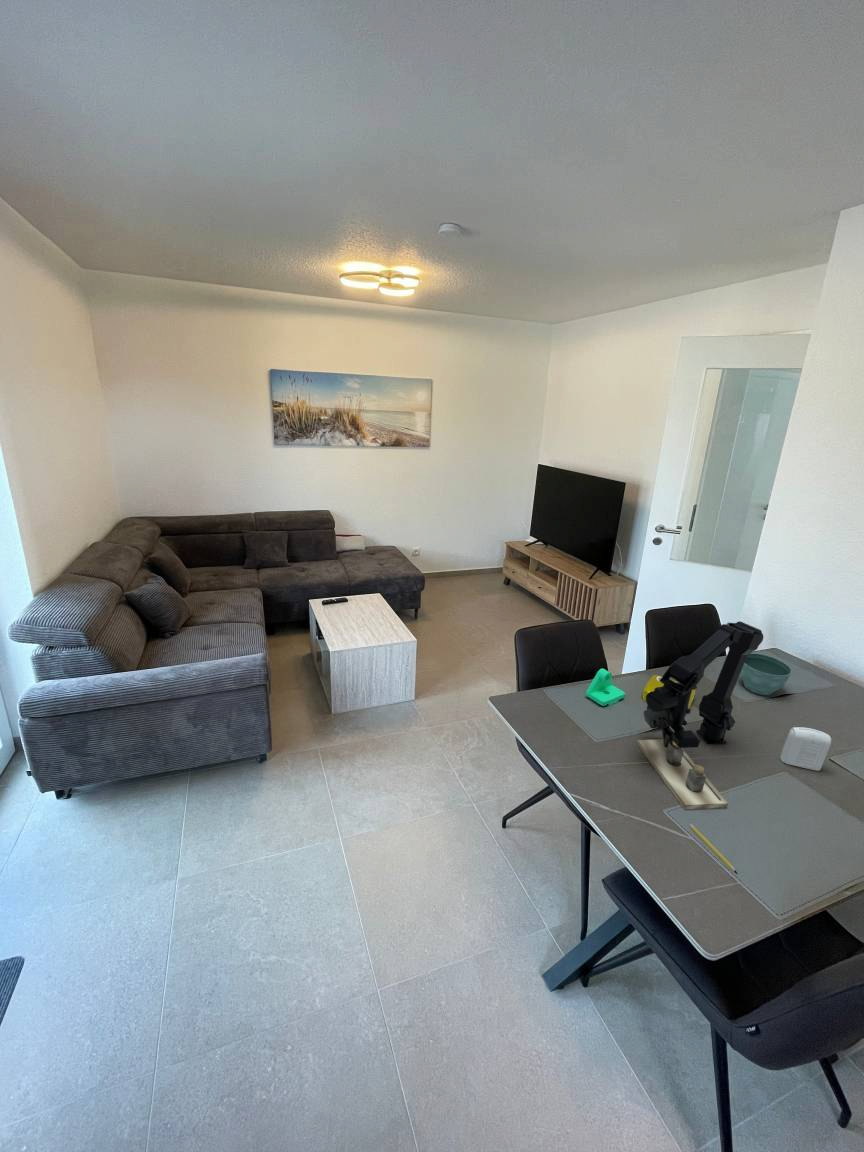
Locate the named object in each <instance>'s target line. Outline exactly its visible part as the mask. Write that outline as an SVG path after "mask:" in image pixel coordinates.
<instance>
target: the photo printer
mask: <svg viewBox="0 0 864 1152" xmlns="http://www.w3.org/2000/svg"><path fill="white" fill-rule="evenodd" d="M831 745H832V738H831V736H830V734H828V733H826V732H823V731H820V730H818V729H814V728H811V727H804V726H803V727H801V726H800V727H799V726H798V727H797V726H794V727H791V728H790V730H789V731H788V735H787V737H786V740H785V742H784V745H783V748H782V751H781V754H780V757H779V758H780V760H781V761H782V762H783V763H785V764H786V765H790V766H794V767H799V768H804V769H808V770H811V771H817V772H818V771H819V772H820V771H821V769H822V767H823V765H824V762H825V759H826V757H827V754H828V753H829V750H830V747H831Z"/></svg>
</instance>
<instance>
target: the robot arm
mask: <svg viewBox="0 0 864 1152" xmlns="http://www.w3.org/2000/svg"><path fill="white" fill-rule="evenodd" d="M763 641H764V633H763V631H762V630H761V629H760V628H757V627H755V626H752V625H750V624H747V623H745V622H743V621H737V622H727V623H724V624H720V626H719V627H718V628H717V631H716V632H715V633H713V635H711V636H710V637H709V638H708V639H707V640H705V641H704V643H702V644H701V646H699V647H697V649H696V650H694V651H693V652H692V653H691V654H688V655H683V656H680V657H678V659H676V660H675V661H674V662H672V663H671V664H670V665H669V667H668V669H667V670H666V671H665V672H664V673H663V675H662V678H661V679H660V682H661V683H663V684H664V685H663V686H662V687H657V688H655V689H654V691H651V692H649V693H648V694H647V695H646V701H645V702H646V710H644V711H643V716H644V721H645V723H647V725H648V726H649V728H650V729H653V730H654V729H657V730H661V733H662V734H661V735H662V739H663V743H664V747H665V748H668V744H669V743H673V741H674V742H675V744H676V745H677V746H678V747H680V748H684V749H687V748H690V749H691V748H692V749H693V748H699V745H700V743H701V740H700V739H699V738H698V736H697V735H696V734H695V733H694V732H693V731H692V730H691V729H690V730H687V728H686V727H685V726H687V725H688V721H687V720H686V715H687V714H690V713H691V709H690V708H688V704H689V700H690V696H691V693H692V690H694V689H695V690H696V689H697V688H698V686H697V685H698V684H699V683H700V682H701V680H702V679H703V678H704V675H705V669H706V668H707V667H708V666H710V664H711V663H712V662H713V661H714V660H716V658H718V657H719V656H720V655H721V654H723V652H724V651H726V649H728V652H727V654H726V657H725V659H724V662H723V665H722V666H721V670H720V672H719V675H718V678H717V680H716V682H715V684H714V687H713V690H712V692H709V693H708V694H704V695H703V696H701V697H702V698H701V700H700V703H699V705H698V715H699V716H700V717H701V718H702V722H701V723H700V726H699V729H696V733H697V734H698V735H699V736H700V737H701V739H702V740H703V741H704V742H705V743H706V744H708V745H719V744H720V745H721V744H727V740H725V735H726V732H727V731H729V732H730V731H731V729H732V728H733V727H734V726H735V724H736V720H735V719H734V717H733V716H732V712H733V709H734V707H733V706H734V705H733V702H732V698H731V697H732V694H733V692H734V689H735V688H736V684H737V683H738V679H739V677H740V676H741V674H740V673H741V670H742V668H743V665H744V663H745V660H746V658H747V656H748V655H749V654H750V653H754V652H755V651H756V650H758V649H759V646H760V645H761V644H762V642H763ZM671 678H672V679H671ZM670 679H671V680H670ZM672 680H674V681H677V682H676V683H675V682H674V681H672ZM686 713H687V714H686Z"/></svg>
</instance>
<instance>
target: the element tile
mask: <svg viewBox="0 0 864 1152" xmlns="http://www.w3.org/2000/svg"><path fill="white" fill-rule="evenodd" d="M662 676H663V675H662ZM662 676H661V675H658V674H653V675H652V676H651V678H650V679H649V680H648V682H647V684H646V685H645V687H644V689H643V693H642V700H643V699H644V700H643V701H645V702H646V695H647V694H648V693H649V692H651V691H654V689H655V688H657V687H662V686H663V685H664V684H663V683H661V682H660V679H661V678H662ZM669 679H670V680H672V681H674V682H675V683H676V682H678V681H676V680H675V679H671V678H669ZM695 694H696V689H694V690H692V693H691V696H690V700H689V704H688V708H689V709H690V708H691V706H692V703H693V702H694V698H695ZM687 714H688V713H686V715H687Z"/></svg>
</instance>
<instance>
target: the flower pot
mask: <svg viewBox="0 0 864 1152" xmlns="http://www.w3.org/2000/svg"><path fill="white" fill-rule="evenodd" d="M792 673H793V671H792V669H791V666H789V665H788V664H787V663H785V662H784V661H782V660H780V659H778V658H775V657H773V656H769V655H766V654H761V653H757V652H752V653H750V654H749V655H748V656H747V658H746V660H745V663H744V665H743V668H742V670H741V673H740V676H741V679H742V681H743V685H744V686H743V687H745V688H746V689H747V690H748V691H750V692H752V693H755V694H758V695H761V696H771V695H773V694H774V692H775V691H778V690H779V689H781V688H782V687H783V686H784V685H785V684H786V683H787V682H788V679H789V678H790V676H791V675H792Z"/></svg>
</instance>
